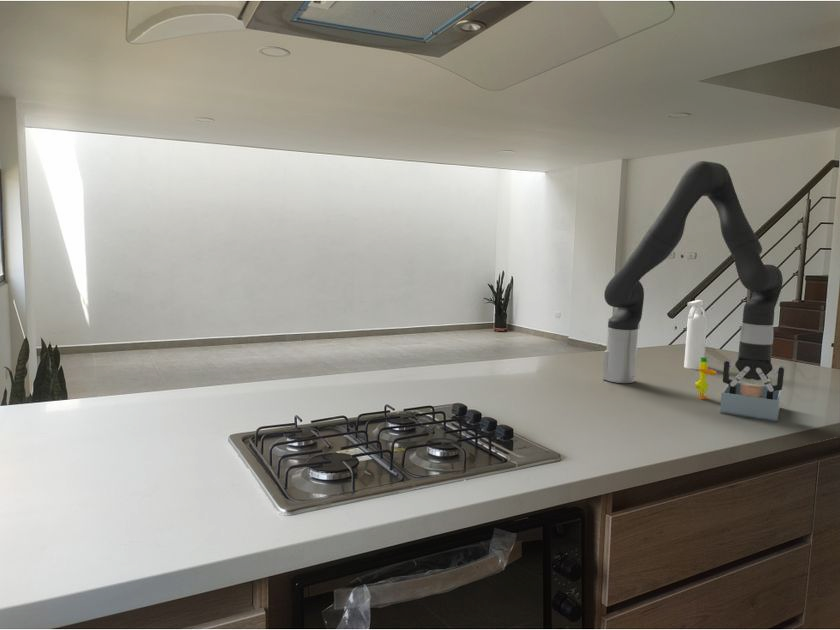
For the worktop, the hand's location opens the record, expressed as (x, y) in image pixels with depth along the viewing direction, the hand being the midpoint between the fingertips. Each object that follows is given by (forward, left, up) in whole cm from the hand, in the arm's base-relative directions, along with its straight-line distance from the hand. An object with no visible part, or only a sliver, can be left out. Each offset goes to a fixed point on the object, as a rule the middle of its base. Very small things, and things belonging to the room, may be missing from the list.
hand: (750, 402), depth 155 cm
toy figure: (-12, +9, -3) cm, 16 cm away
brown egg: (0, 0, -3) cm, 3 cm away
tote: (0, +4, -3) cm, 5 cm away
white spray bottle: (-22, +57, -3) cm, 62 cm away
